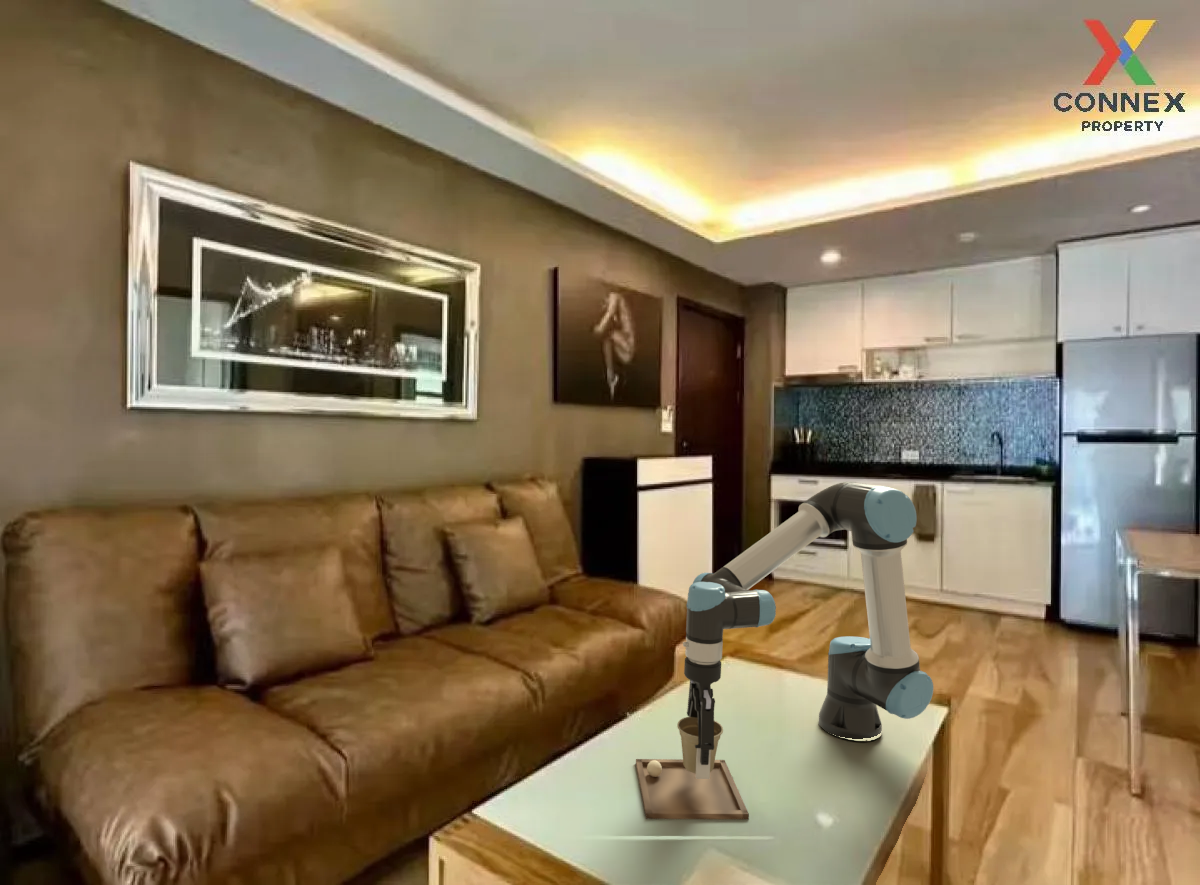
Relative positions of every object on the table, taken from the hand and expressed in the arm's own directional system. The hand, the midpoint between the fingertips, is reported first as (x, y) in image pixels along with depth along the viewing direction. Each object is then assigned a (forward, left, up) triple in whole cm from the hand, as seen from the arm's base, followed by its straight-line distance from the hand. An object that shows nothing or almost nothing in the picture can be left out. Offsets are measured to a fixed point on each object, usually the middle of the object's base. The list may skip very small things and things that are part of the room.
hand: (698, 765), depth 136 cm
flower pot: (0, 0, -1) cm, 1 cm away
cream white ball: (+8, -5, -5) cm, 11 cm away
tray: (+2, 0, -6) cm, 6 cm away
